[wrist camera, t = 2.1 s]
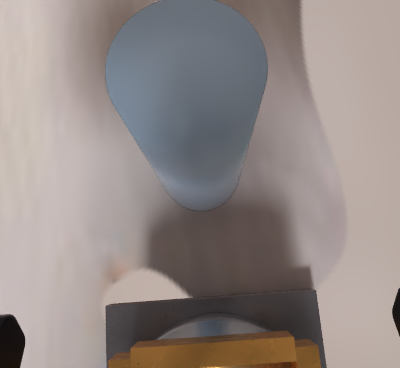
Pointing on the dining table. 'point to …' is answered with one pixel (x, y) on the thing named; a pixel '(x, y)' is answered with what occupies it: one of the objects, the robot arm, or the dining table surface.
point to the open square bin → (217, 332)
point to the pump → (189, 94)
